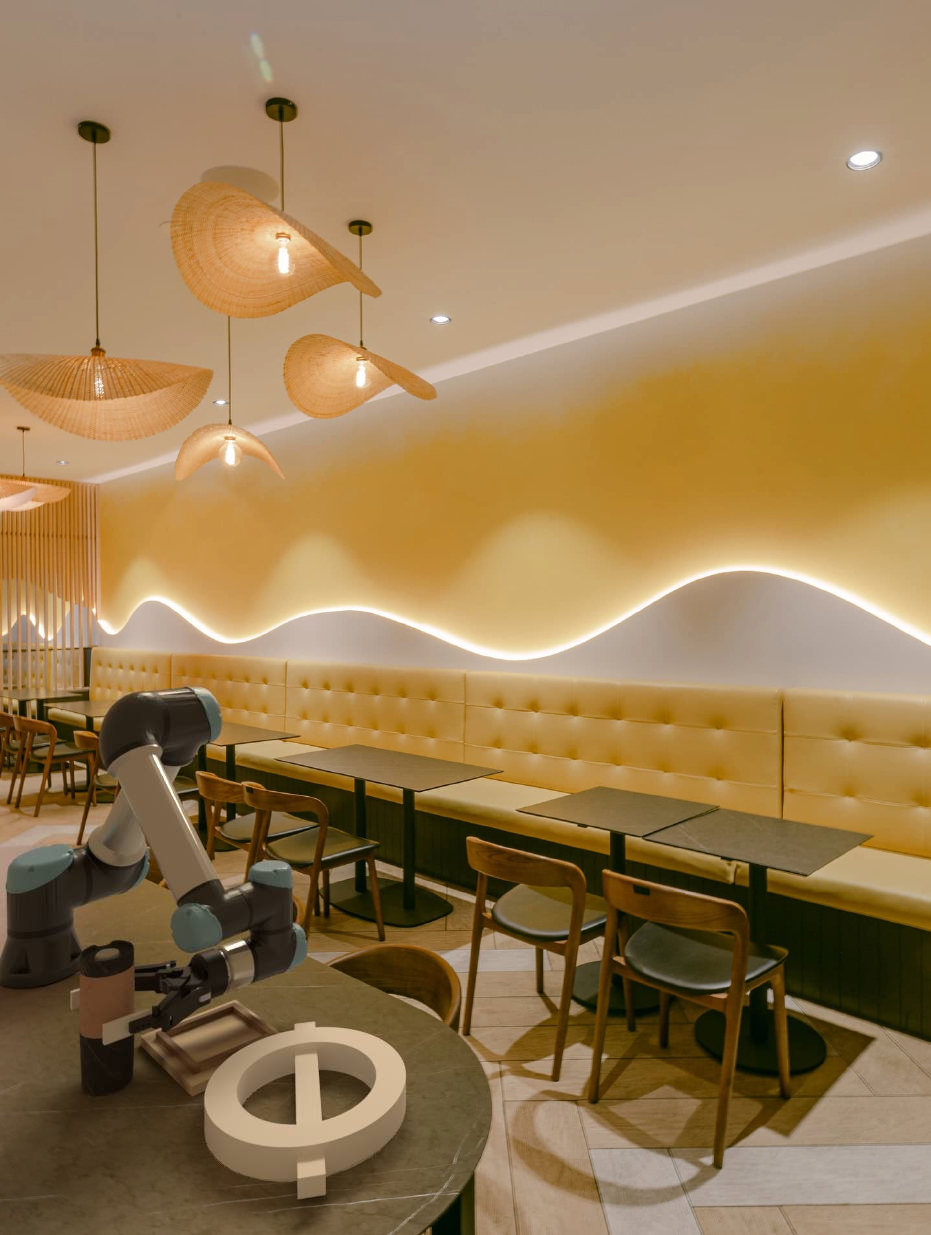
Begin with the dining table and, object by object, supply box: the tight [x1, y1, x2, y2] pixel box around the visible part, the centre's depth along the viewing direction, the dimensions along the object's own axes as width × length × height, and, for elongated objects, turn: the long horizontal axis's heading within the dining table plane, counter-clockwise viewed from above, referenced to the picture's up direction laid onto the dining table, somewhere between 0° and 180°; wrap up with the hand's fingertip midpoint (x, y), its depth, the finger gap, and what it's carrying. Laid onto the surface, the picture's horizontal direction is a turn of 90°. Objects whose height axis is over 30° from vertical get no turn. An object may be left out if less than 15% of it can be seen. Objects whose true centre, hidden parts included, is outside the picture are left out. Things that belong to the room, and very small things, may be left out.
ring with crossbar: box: [203, 1021, 407, 1200], centre depth 111 cm, size 28×28×5 cm
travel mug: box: [78, 939, 136, 1097], centre depth 117 cm, size 8×8×20 cm
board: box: [139, 999, 282, 1097], centre depth 127 cm, size 19×17×2 cm
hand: (86, 1017), depth 115 cm, fingers open, 13 cm apart
